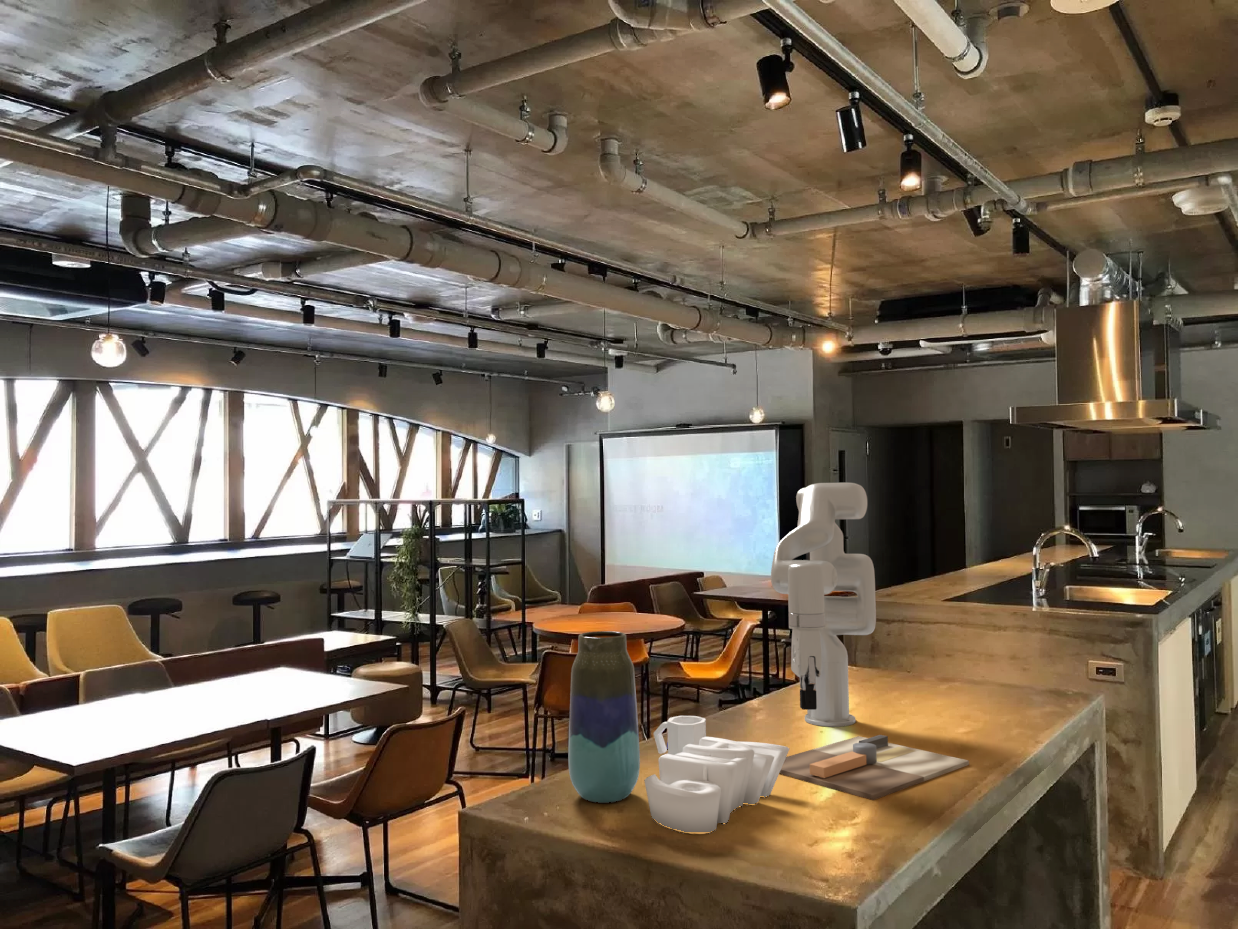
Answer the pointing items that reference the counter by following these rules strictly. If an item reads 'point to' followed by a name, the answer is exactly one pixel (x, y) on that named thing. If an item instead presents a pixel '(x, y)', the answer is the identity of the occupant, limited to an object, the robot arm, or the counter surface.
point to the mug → (680, 733)
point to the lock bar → (845, 761)
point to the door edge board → (873, 767)
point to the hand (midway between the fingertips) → (808, 708)
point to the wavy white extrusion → (712, 782)
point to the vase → (603, 719)
